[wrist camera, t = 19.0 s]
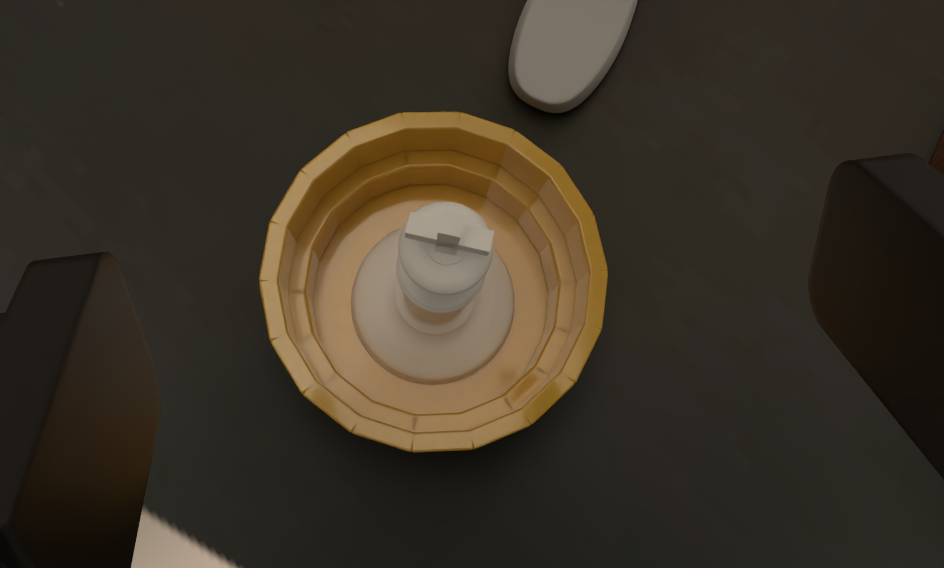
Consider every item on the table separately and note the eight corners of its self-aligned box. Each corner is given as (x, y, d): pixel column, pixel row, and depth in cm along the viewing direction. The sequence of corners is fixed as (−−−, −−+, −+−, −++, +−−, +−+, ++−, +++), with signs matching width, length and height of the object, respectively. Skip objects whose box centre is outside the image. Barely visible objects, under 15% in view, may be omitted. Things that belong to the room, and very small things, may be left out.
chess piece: (496, 400, 25) (553, 381, 16) (333, 365, 25) (289, 322, 15) (528, 243, 26) (602, 131, 17) (372, 207, 26) (353, 73, 16)
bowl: (383, 508, 25) (380, 524, 21) (229, 252, 26) (194, 217, 22) (629, 348, 27) (673, 332, 22) (474, 111, 28) (487, 51, 23)
